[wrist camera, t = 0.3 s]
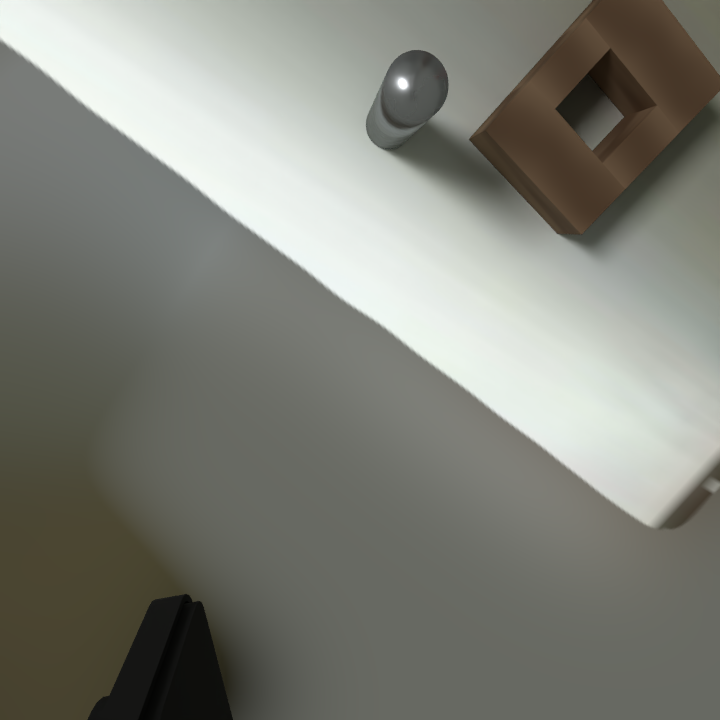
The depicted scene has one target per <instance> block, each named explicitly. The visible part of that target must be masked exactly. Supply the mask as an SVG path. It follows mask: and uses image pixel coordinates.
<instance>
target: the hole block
mask: <svg viewBox="0 0 720 720" xmlns="http://www.w3.org/2000/svg"><path fill="white" fill-rule="evenodd" d="M587 73H588V74H589V75H590V76H591V77H592V78H593V80H594V81H595V82H596V83H597V84H598V86H599V87H600V88H601V89H602V90H603V92H604V93H605V94H606V95H607V96H608V98H609V99H610V100H611V101H612V102H613V104H614V105H615V106H616V107H617V108H618V109H619V111H620V112H621V113H622V114H623V115H624V118H623V119H622V120H621V121H620V122H619V123H618V124H617V125H616V126H615V127H614V128H613V130H612V131H611V132H610V133H609V134H608V135H607V136H606V137H605V138H604V139H603V140H602V141H601V142H600V143H599V144H598V146H597V147H596V148H595V149H594V150H593V151H592V150H591V149H590V148H589V147H588V146H587V145H586V144H585V142H584V141H583V140H582V139H581V138H580V137H579V136H578V134H577V133H576V132H575V131H574V130H573V129H572V128H571V126H570V125H569V124H568V123H567V122H566V121H565V120H564V118H563V117H562V116H561V115H560V114H559V113H558V112H557V110H556V109H555V108H556V107H557V106H558V105H559V104H560V103H561V102H562V100H563V99H564V98H565V97H566V96H567V95H568V94H569V93H570V92H571V91H572V90H573V88H574V87H575V86H576V85H577V84H578V83H579V82H580V81H581V80H582V79H583V77H584V76H585V75H586V74H587ZM719 91H720V75H719V74H718V73H717V72H716V70H715V69H714V68H713V66H712V65H711V64H710V62H709V61H708V60H707V58H706V57H705V56H704V55H703V53H702V52H701V51H700V49H699V48H698V47H697V45H696V44H695V43H694V41H693V40H692V39H691V37H690V36H689V35H688V34H687V32H686V31H685V30H684V28H683V27H682V26H681V24H680V23H679V22H678V20H677V19H676V18H675V17H674V15H673V14H672V13H671V11H670V10H669V9H668V7H667V6H666V5H665V3H664V2H663V1H662V0H593V1H592V2H591V3H590V4H589V5H588V7H587V8H586V9H585V10H584V11H583V12H582V13H581V14H580V16H579V17H578V18H577V19H576V20H575V21H574V22H573V23H572V25H571V26H570V27H569V28H568V29H567V30H566V31H565V32H564V33H563V35H562V36H561V37H560V38H559V39H558V40H557V41H556V42H555V44H554V45H553V46H552V47H551V48H550V49H549V50H548V51H547V52H546V54H545V55H544V56H543V57H542V58H541V59H540V60H539V61H538V63H537V64H536V65H535V66H534V67H533V68H532V69H531V70H530V71H529V73H528V74H527V75H526V76H525V77H524V78H523V79H522V80H521V82H520V83H519V84H518V85H517V86H516V87H515V88H514V89H513V91H512V92H511V93H510V94H509V95H508V96H507V97H506V98H505V99H504V101H503V102H502V103H501V104H500V105H499V106H498V107H497V108H496V110H495V111H494V112H493V113H492V114H491V115H490V116H489V117H488V118H487V120H486V121H485V122H484V123H483V124H482V125H481V126H480V127H479V129H478V130H477V131H476V132H475V133H474V134H473V135H472V136H471V138H470V139H469V140H470V141H471V142H472V143H473V144H474V145H475V146H476V147H477V149H478V150H479V151H480V152H481V153H482V154H483V155H484V156H485V157H486V158H487V159H488V160H489V161H490V162H491V163H492V165H493V166H494V167H495V168H496V169H497V170H498V171H499V172H500V173H501V174H502V175H503V176H504V177H505V178H506V179H507V180H508V182H509V183H510V184H511V185H512V186H513V187H514V188H515V189H516V190H517V191H518V192H519V193H520V194H521V195H522V196H523V198H524V199H525V200H526V201H527V202H528V203H529V204H530V205H531V206H532V207H533V208H534V209H535V210H536V211H537V212H538V213H539V215H540V216H541V217H542V218H543V219H544V220H545V221H546V222H547V223H548V224H549V225H550V226H551V227H552V228H553V229H554V231H555V232H556V233H557V234H581V235H582V234H583V233H584V231H585V230H586V229H587V228H588V227H589V226H590V225H591V224H592V223H593V222H594V221H595V220H596V219H597V218H598V217H599V216H600V215H601V214H602V213H603V212H604V211H605V210H606V209H607V208H608V207H609V205H610V204H611V203H612V202H613V201H614V200H615V199H616V198H617V197H618V196H619V195H620V194H621V193H622V192H623V191H624V190H625V189H626V188H627V187H628V186H629V185H630V184H631V183H632V182H633V180H634V179H635V178H636V177H637V176H638V175H639V174H640V173H641V172H642V171H643V170H644V169H645V168H646V167H647V166H648V165H649V164H650V163H651V162H652V161H653V160H654V159H655V158H656V157H657V155H658V154H659V153H660V152H661V151H662V150H663V149H664V148H665V147H666V146H667V145H668V144H669V143H670V142H671V141H672V140H673V139H674V138H675V137H676V136H677V135H678V134H679V133H680V132H681V130H682V129H683V128H684V127H685V126H686V125H687V124H688V123H689V122H690V121H691V120H692V119H693V118H694V117H695V116H696V115H697V114H698V113H699V112H700V111H701V110H702V109H703V108H704V107H705V106H706V104H707V103H708V102H709V101H710V100H711V99H712V98H713V97H714V96H715V95H716V94H717V93H718V92H719Z"/></svg>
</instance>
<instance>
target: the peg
mask: <svg viewBox="0 0 720 720" xmlns="http://www.w3.org/2000/svg"><path fill="white" fill-rule="evenodd" d="M447 93H448V77H447V73H446V71H445V68H444V66H443V65H442V63H441V62H440V61H439V60H438V59H437V58H436V57H435V56H434V55H432V54H430V53H428V52H426V51H421V50H412V51H408V52H406V53H403V54H402V55H400V56H399V57H397V58H396V59H395V60H394V61H393V63H392V64H391V66H390V67H389V69H388V71H387V74H386V76H385V78H384V80H383V82H382V85H381V87H380V89H379V91H378V93H377V95H376V98H375V100H374V102H373V104H372V106H371V109H370V111H369V113H368V115H367V119H366V130H367V134H368V136H369V138H370V139H371V141H372V142H373V143H374V144H375V145H376V146H378V147H380V148H383V149H395V148H398V147H399V146H401V145H402V144H404V143H405V142H406V141H407V140H408V139H409V138H410V137H411V136H412V135H413V134H414V133H415V132H416V131H417V130H419V129H420V128H421V127H422V126H423V125H424V124H425V123H426V122H427V121H428V120H429V119H430V118H431V117H432V116H434V115H435V114H436V113H437V112H438V111H439V110H440V108H441V107H442V105H443V104H444V102H445V100H446V97H447Z"/></svg>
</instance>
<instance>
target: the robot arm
mask: <svg viewBox="0 0 720 720" xmlns="http://www.w3.org/2000/svg"><path fill="white" fill-rule="evenodd" d="M88 720H233V718H232V714H231V711H230V707H229V703H228V699H227V695H226V691H225V687H224V683H223V680H222V676H221V672H220V668H219V664H218V660H217V657H216V653H215V649H214V645H213V641H212V637H211V634H210V629H209V626H208V622H207V618H206V615H205V610H204V607H203V604H202V603H201V602H200V601H197V602H192V599H191V598H190V596H189V595H187V594H184V595H179V596H173V597H167V598H161V599H156V600H154V601H152V602H151V604H150V606H149V608H148V610H147V612H146V614H145V617H144V619H143V621H142V624H141V626H140V628H139V630H138V632H137V635H136V637H135V639H134V642H133V644H132V646H131V648H130V651H129V653H128V655H127V657H126V660H125V662H124V664H123V667H122V669H121V671H120V673H119V676H118V678H117V680H116V682H115V684H114V687H113V689H112V691H111V693H110V696H106V697H103V698H101V699H100V700H99V701H98V702H97V703H96V705H95V706H94V708H93V710H92V711H91V714H90V716H89V718H88Z"/></svg>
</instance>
